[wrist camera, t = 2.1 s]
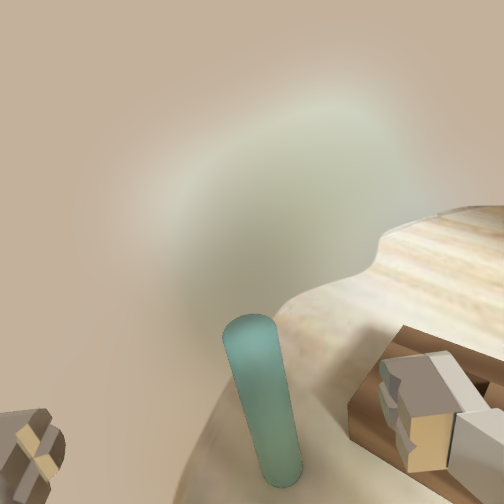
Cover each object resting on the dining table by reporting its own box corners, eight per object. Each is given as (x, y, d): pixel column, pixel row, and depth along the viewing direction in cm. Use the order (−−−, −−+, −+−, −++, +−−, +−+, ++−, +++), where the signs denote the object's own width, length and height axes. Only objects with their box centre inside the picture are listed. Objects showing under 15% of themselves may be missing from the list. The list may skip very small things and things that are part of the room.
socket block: (402, 359, 40) (403, 324, 37) (525, 412, 33) (538, 373, 30) (349, 439, 33) (347, 404, 31) (489, 525, 26) (501, 489, 24)
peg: (278, 438, 35) (247, 307, 27) (310, 461, 32) (287, 325, 24) (253, 470, 33) (211, 338, 24) (285, 497, 30) (251, 362, 22)
